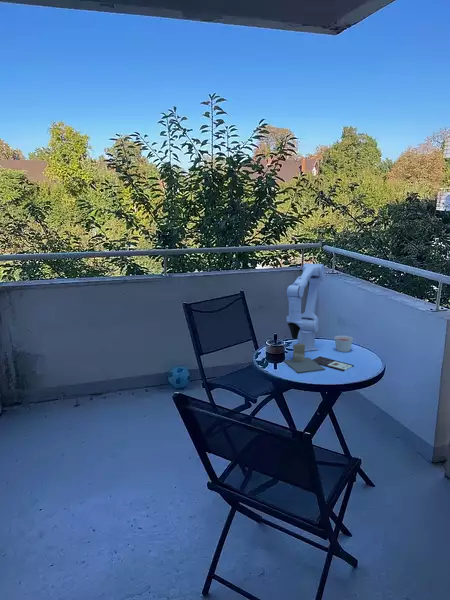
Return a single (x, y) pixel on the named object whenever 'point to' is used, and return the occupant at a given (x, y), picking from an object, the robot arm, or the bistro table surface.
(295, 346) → the ash tile
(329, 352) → the bistro table surface
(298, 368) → the rubber mat
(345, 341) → the candle
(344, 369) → the chocolate bar
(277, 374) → the bistro table surface
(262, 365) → the bistro table surface
